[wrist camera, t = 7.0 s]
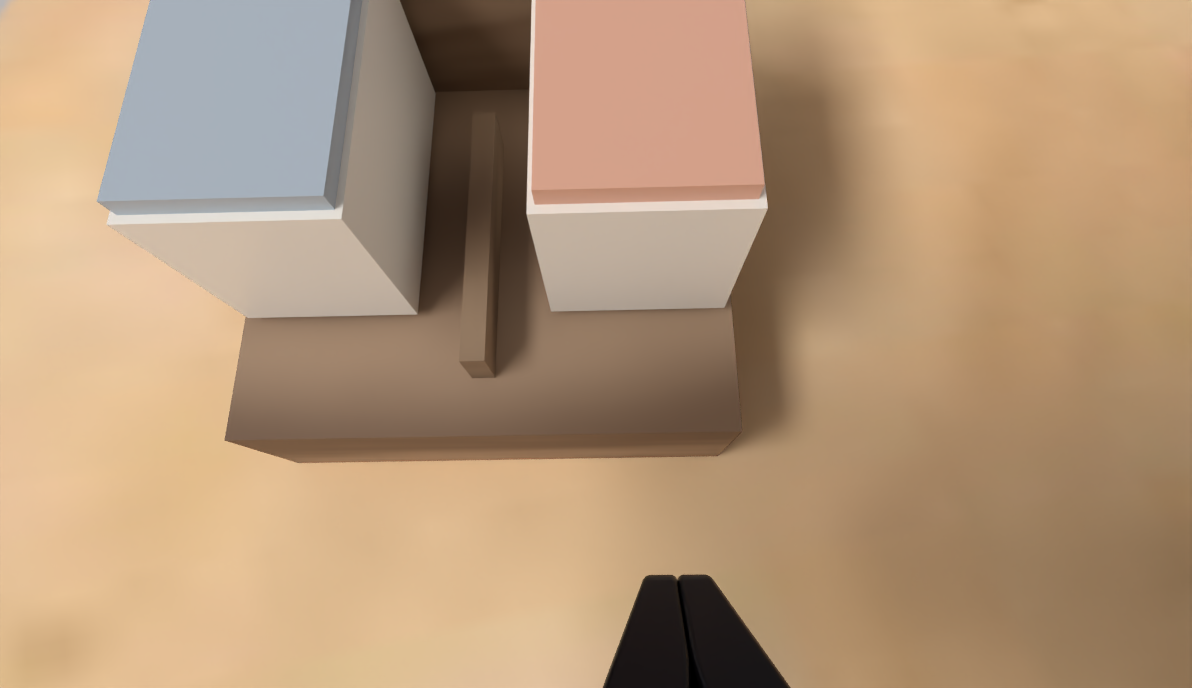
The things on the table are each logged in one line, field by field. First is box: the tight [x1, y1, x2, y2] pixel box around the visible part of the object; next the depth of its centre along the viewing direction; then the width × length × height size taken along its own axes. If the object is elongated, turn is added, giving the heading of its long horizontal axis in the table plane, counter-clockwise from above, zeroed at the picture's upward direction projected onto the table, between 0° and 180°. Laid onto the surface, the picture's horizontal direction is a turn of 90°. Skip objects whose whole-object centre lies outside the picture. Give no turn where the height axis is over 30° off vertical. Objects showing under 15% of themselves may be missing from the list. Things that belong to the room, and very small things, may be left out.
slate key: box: [97, 0, 436, 318], centre depth 15 cm, size 7×4×6 cm, turn 1°
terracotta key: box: [526, 0, 768, 312], centre depth 15 cm, size 7×4×6 cm, turn 1°
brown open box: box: [225, 0, 742, 463], centre depth 17 cm, size 12×13×10 cm
